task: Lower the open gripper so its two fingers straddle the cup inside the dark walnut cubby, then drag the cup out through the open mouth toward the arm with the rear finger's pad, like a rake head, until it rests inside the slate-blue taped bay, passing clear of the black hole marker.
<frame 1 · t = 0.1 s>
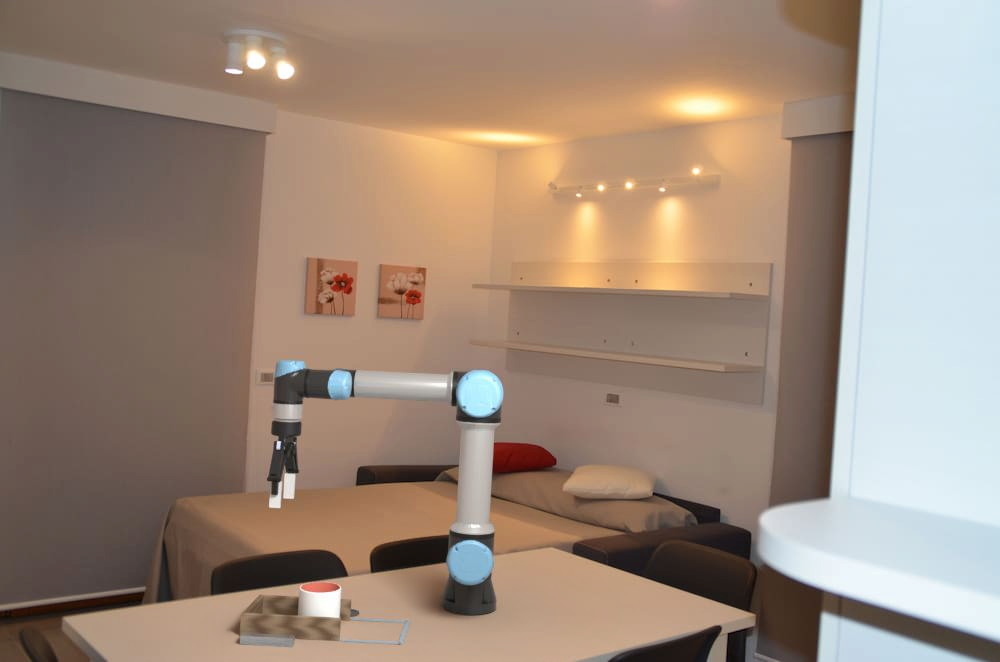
hand: (281, 503, 222), 28 cm above the table, fingers open, 13 cm apart
cup: (318, 629, 211), on the table
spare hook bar: (267, 644, 198), on the table
cubby: (297, 627, 211), on the table
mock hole: (347, 613, 224), on the table
bay: (375, 631, 211), on the table
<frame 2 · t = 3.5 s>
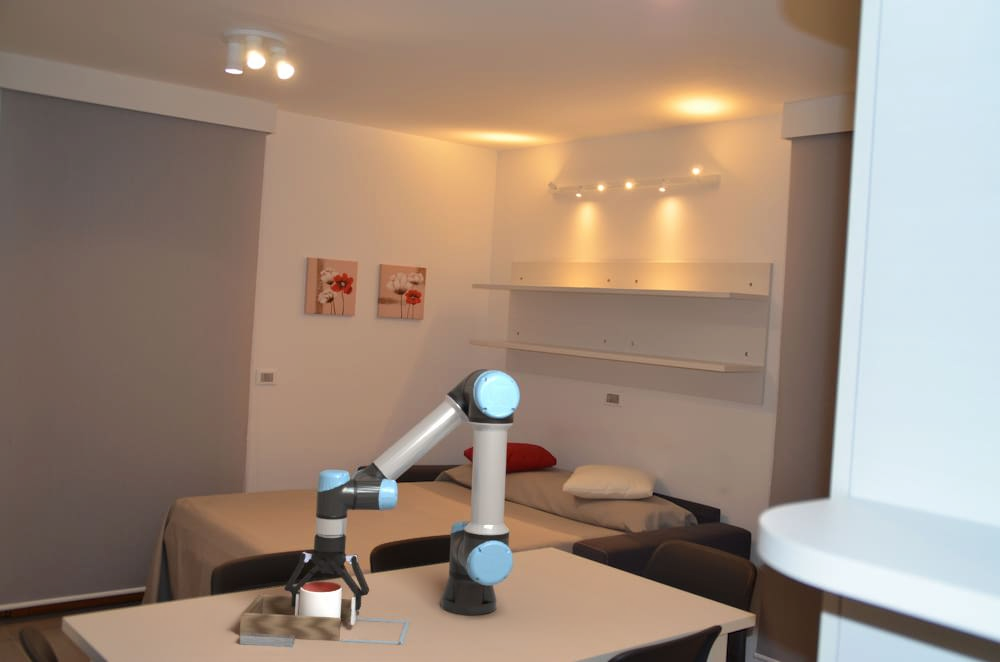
hand: (325, 621, 211), 2 cm above the table, fingers open, 13 cm apart
cup: (318, 629, 211), on the table, touching gripper
everything else where it was.
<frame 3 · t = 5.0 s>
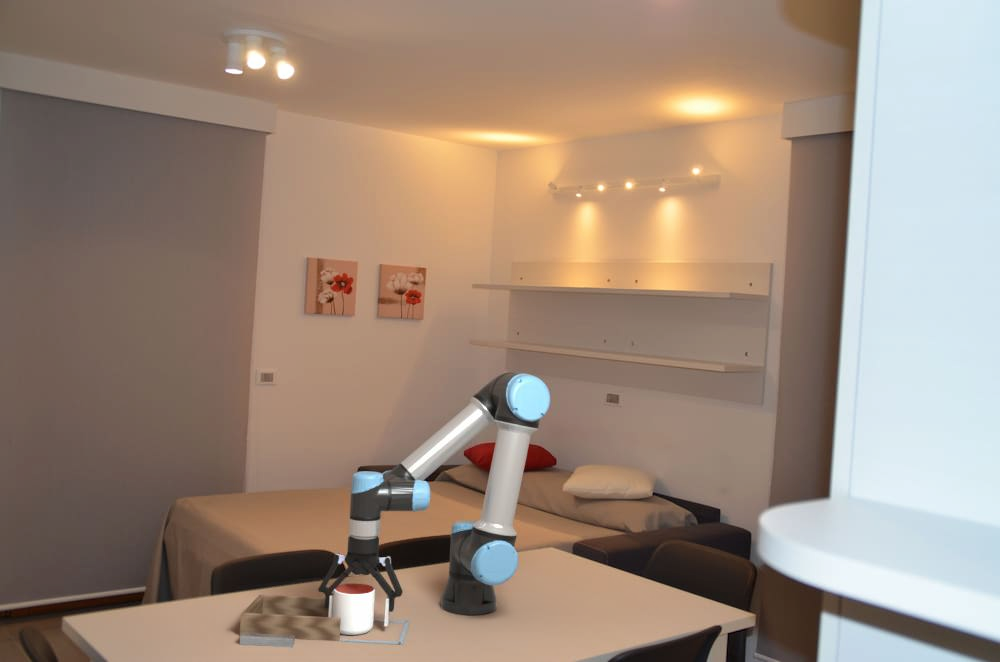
hand: (358, 623, 211), 2 cm above the table, fingers open, 13 cm apart
cup: (352, 630, 211), on the table, touching gripper
everything else where it was.
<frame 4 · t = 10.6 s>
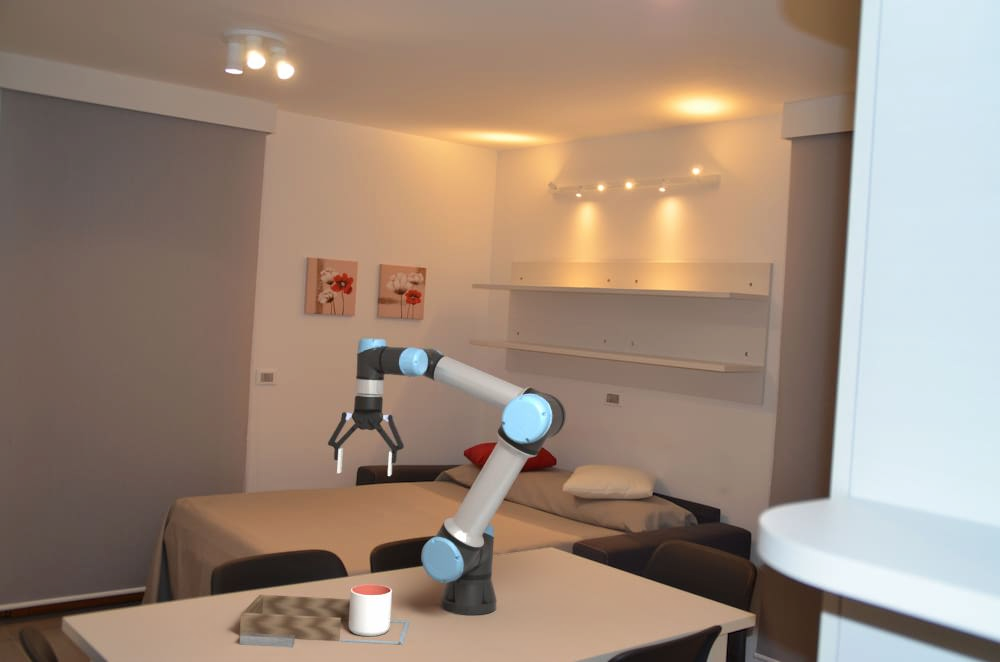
hand: (364, 474, 234), 35 cm above the table, fingers open, 13 cm apart
cup: (368, 631, 211), on the table
everything else where it was.
at the end: cup inside the target area (1.4 cm from its centre), on the table; cup tilted 0° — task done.
